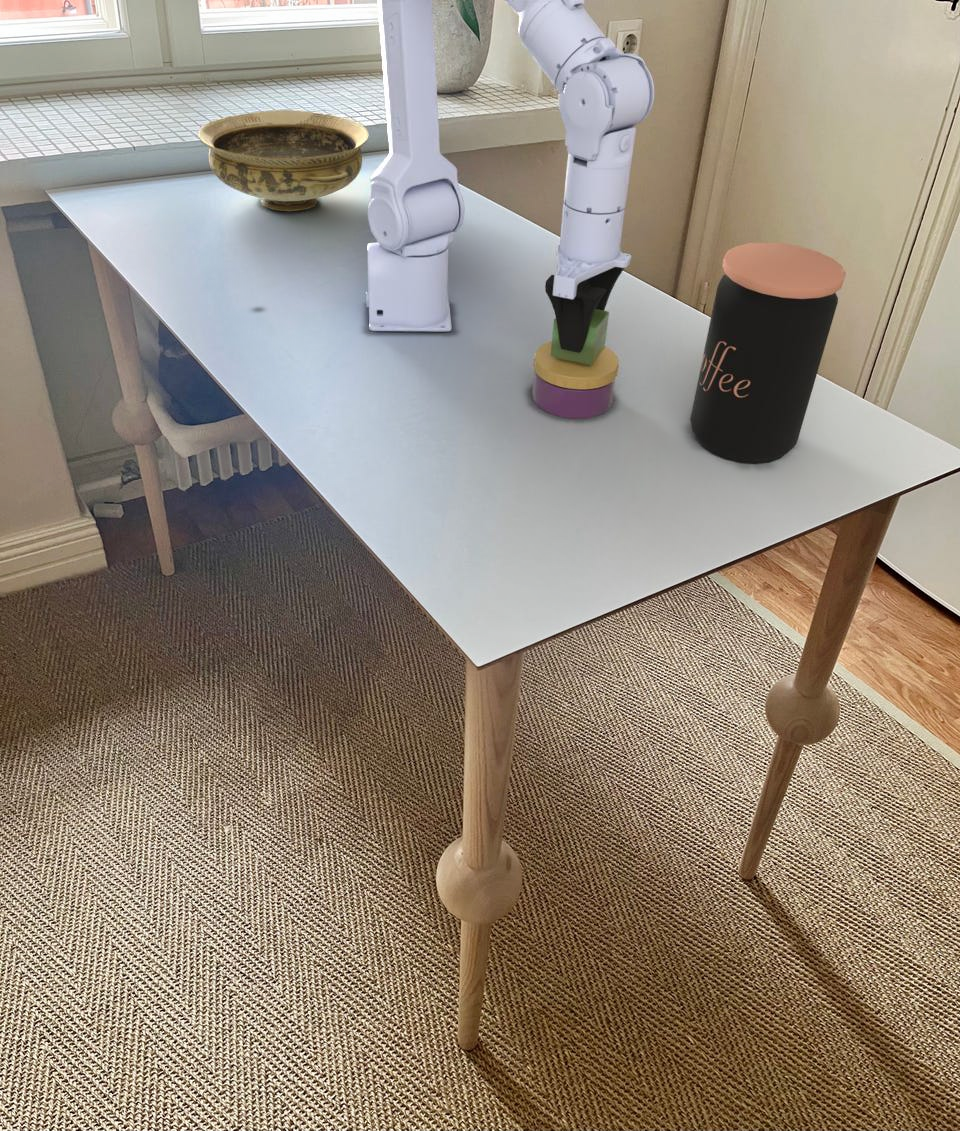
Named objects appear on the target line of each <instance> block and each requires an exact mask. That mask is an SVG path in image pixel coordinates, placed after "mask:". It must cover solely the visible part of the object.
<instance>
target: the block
mask: <svg viewBox="0 0 960 1131" xmlns="http://www.w3.org/2000/svg"><path fill="white" fill-rule="evenodd" d="M609 317H610V311H609V310H599V309H595V312H594V314H593V317H592V320H591V323H590V327H589V331H588V335H587V338H586V342H585V344H584V347H583V349H582V351H581V352H580V353H577V352H573V351H568V350H564V349H561V347H560V342H559V335H558V328H557V321H556V317H554V319H553V326H552V336H551V341H552V345H551V356H552V357H556V358H560V359H565V360H569V361H574V362H578V363H582V364H587V365H592V364H593V363H594V362H595V360H596V359H597V357H598V356H599V355H600V353H601V352H602V350H603V349H604V348H605V347H606V339H607V334H608V326H609Z"/></svg>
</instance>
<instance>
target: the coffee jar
mask: <svg viewBox="0 0 960 1131" xmlns="http://www.w3.org/2000/svg"><path fill="white" fill-rule="evenodd" d="M722 269H723V273H724V275H722V277H721V279H720V280H719V282H718V284H717V286H716V287H717V288H716V292H715V297H714V301H713V305H712V306H713V307H712V311H711V316H710V320H709V326H708V331H707V335H706V340H705V346H704V349H703V355H702V360H701V365H700V368H699V369H700V370H699V374H698V379H697V383H696V389H695V393H694V398H693V403H692V407H691V413H690V418H689V422H690V427H691V430H692V433H693V434H694V438H695V439H696V441H697V442H698V444H700V446H701V447H702V448H703V449H705V450H706V451H707V452H709V453H710V454H712V455H714V456H716V457H718V458H722V459H724V460H727V461H731V462H735V463H738V464H750V465H759V464H768V463H772V462H775V461H777V460H780V459H782V458H783V457H784V456H785V455H787V454H788V453H789V452H790V451H791V450H793V448H795V446H797V443H798V441H799V437H800V433H801V430H802V426H803V424H804V421H805V416H806V413H807V410H808V407H809V403H810V399H811V396H812V392H813V389H814V385H815V382H816V379H817V375H818V371H819V368H820V365H821V362H822V358H823V355H824V351H825V348H826V344H827V340H828V338H829V334H830V331H831V328H832V324H833V320H834V317H835V313H836V310H837V306H838V304H839V298H838V295H837V292H838V291H840V290H841V289H842V287H843V284H844V281H845V279H846V276H847V274H846V271H845V269H844V267H843V265H842V264H841V263H840V262H838V261H837V260H835V259H834V258H832V257H831V256H828V255H827V254H824V253H823V252H820V251H817V250H813V249H810V248H807V247H804V246H800V245H793V244H788V243H782V242H781V243H780V242H766V241H765V242H749V243H745V244H741V245H736V246H733V247H732V248H730V249H729V250H727V252H726V253H725V255H724V257H723V258H722Z"/></svg>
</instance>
